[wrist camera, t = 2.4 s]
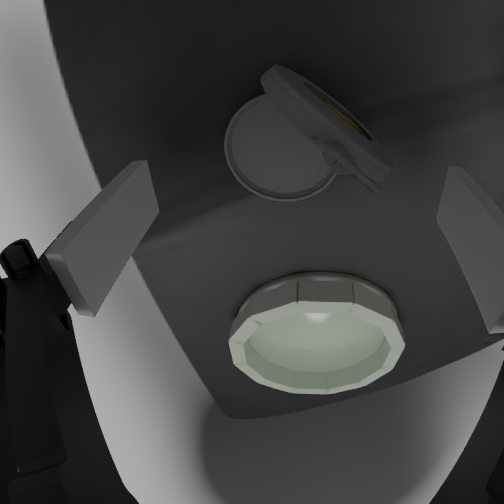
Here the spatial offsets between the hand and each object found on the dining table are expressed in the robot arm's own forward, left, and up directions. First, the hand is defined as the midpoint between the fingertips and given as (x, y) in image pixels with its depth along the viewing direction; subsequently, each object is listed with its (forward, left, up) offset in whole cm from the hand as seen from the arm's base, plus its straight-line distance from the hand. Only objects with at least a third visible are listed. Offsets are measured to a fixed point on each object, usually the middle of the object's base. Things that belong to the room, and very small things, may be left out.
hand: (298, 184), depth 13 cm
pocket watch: (0, 0, -6) cm, 6 cm away
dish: (+18, +2, -6) cm, 19 cm away
